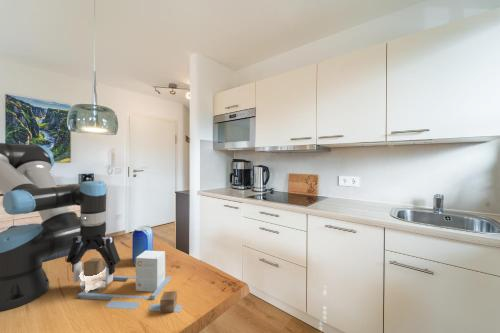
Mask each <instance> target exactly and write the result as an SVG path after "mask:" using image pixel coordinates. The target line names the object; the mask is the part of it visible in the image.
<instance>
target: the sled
mask: <svg viewBox="0 0 500 333" xmlns="http://www.w3.org/2000/svg"><path fill="white" fill-rule="evenodd" d="M103 261H104V259H103V257H102V258H99V257H92V258H90V259H89V260H87V261H85V262H83V276H84V275H85V276H93V275H97V274H99V273H100V272H102V271H104V267H103V266H104V262H103ZM171 277H172V276H171V275H166V276H165V279H164V281H163V282H162V283H161V284H160V285H159V287H158V288H157V289H156V290H155V292H153V293H152V294H151V295H150V296H145V295H143V296H142V295H126V294H113V293H112V294H111V293H97V292H88V293H86V292H85V291H84V290H82V291H81V292H79V293H78V294H77V296H76V298H77V299H87V300H101V301H102V300H104V301H112V299H113V298H124V299H125V298H126V299H140V300H142V299H143V300H152V301H153V300H156V298H157V297H158V296H159V295H160V293H161V292H162V291H163V289H164V288H165V287H166V285H167V284H168V283H169V282H170V280H171V279H172V278H171ZM128 279H135V280H136V276H129V275H114V274H113V281H116V282H117V281H120V282H121V281H122V282H123V281H124V282H127V280H128Z"/></svg>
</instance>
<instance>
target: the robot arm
mask: <svg viewBox="0 0 500 333" xmlns="http://www.w3.org/2000/svg"><path fill="white" fill-rule="evenodd" d="M54 165H55V159H54V153H53V152H52V151H51V149H49V148H48V147H47V146H45V145H39V144H35V143H34V144H21V143H7V142H0V193H1V194H2V195H3V197H2V206H3V207H2V208H4V211H5V213H6V214H7V215H10V216H12V215H13V216H14V215H22V214H23V215H26V214H30V213H35V212H38V213H39V216H40V219H41V220H42V222H41V223H28V224H21V225H18V226H14V227H11V228H8V229H5V230H2V231H1V232H0V312H1V311H2V312H3V311H7V310H11V309H15V308H17V307H21V306H23V305H26V304H28V303H30V302H33V301H34V300H37V299H38V298H40V297H41V296H43V295H44V294H46V293H47V292H48V291H49V288H50V280H49V278H48V276H47V274H46V272H45V270H44V269H43V268H44V267H43V260H44V259H46V258H49V257H53V256H56V255H58V254H62V253H66V252H67V251H69V252H68V255H67V258H66V263H70V264H71V271H72V273H73V283H77V282H79V281H80V280H81V279H80V277H79V275H80V273H81V272H82V273H83V261H81V260H82V258H83V256H84V255H85V254H86V252H87V250H96V252H98V253H99V255H101V257H102V258H103V261H105V263H106V266H105V275H106V280H105V285H106V286H108V285H109V284H110V283H111V282H113V281H114V280H113V275H114V274H115V271H116V270H115V269H116V267H115V266H116V265H117V264H119V263H120V262H121V259H120V255H119V253H118V250H117V247H116V245H115V242H114V240H115V239H114V236H110V237H107V236H106V231H107V222H106V221H107V188H106V184H107V183H106V182H105V181H101V180H89V181H88V180H87V181H82V182H81V183H80V185H79V184H76V183H75V184H65V185H64V186H57V185H58V184H56V182H55V180H54V178H53V176H52V174H51V170H52V168H53V166H54ZM71 206H79V207H80V209H79V210H80V211H79V212H80V217H79V216H78V214H77V213H76V211H70V209H69V207H71Z"/></svg>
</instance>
